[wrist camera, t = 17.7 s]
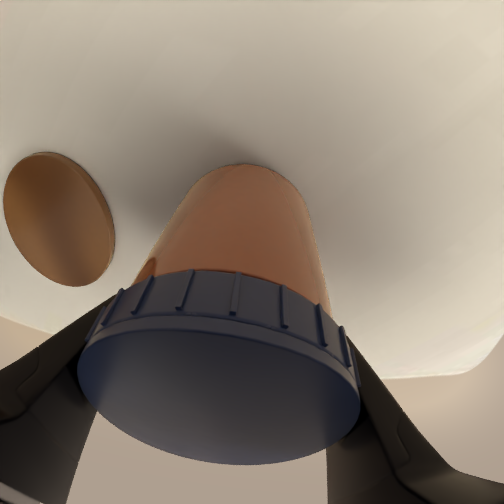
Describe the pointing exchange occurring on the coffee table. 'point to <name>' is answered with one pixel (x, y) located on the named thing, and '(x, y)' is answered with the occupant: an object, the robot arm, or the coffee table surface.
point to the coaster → (59, 219)
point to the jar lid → (221, 369)
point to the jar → (242, 232)
